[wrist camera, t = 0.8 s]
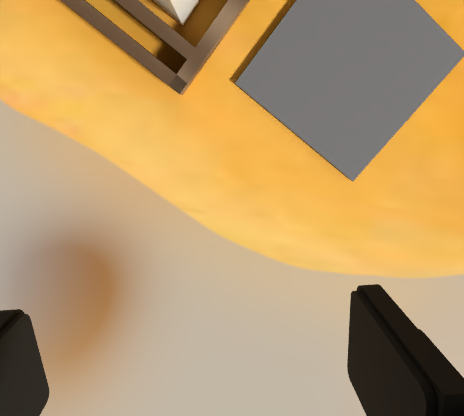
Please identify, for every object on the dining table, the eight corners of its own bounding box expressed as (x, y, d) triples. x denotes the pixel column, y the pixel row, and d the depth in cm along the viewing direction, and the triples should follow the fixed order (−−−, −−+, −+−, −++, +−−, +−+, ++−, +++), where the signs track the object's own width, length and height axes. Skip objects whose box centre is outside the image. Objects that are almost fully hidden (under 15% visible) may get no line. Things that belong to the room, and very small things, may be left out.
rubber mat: (345, -67, 31) (347, -70, 31) (462, 54, 35) (466, 53, 34) (234, 83, 35) (235, 83, 34) (350, 180, 38) (352, 181, 38)
